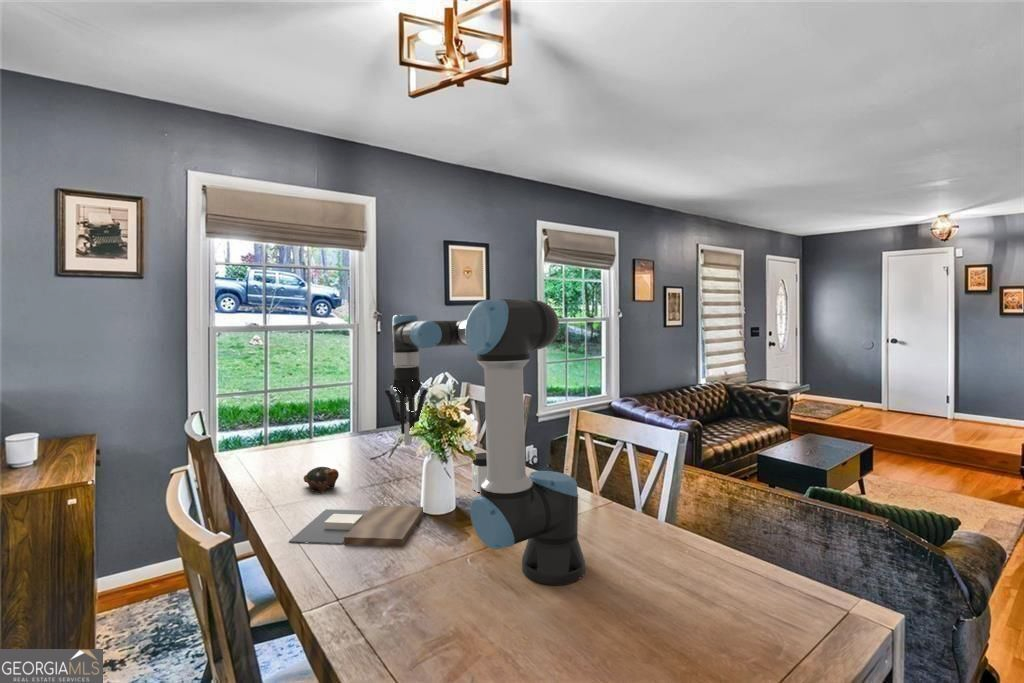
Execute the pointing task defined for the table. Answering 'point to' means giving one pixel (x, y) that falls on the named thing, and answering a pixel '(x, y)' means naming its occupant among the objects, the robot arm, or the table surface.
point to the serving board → (385, 526)
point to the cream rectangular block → (342, 521)
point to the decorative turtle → (321, 478)
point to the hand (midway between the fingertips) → (408, 444)
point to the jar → (479, 470)
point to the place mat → (320, 535)
